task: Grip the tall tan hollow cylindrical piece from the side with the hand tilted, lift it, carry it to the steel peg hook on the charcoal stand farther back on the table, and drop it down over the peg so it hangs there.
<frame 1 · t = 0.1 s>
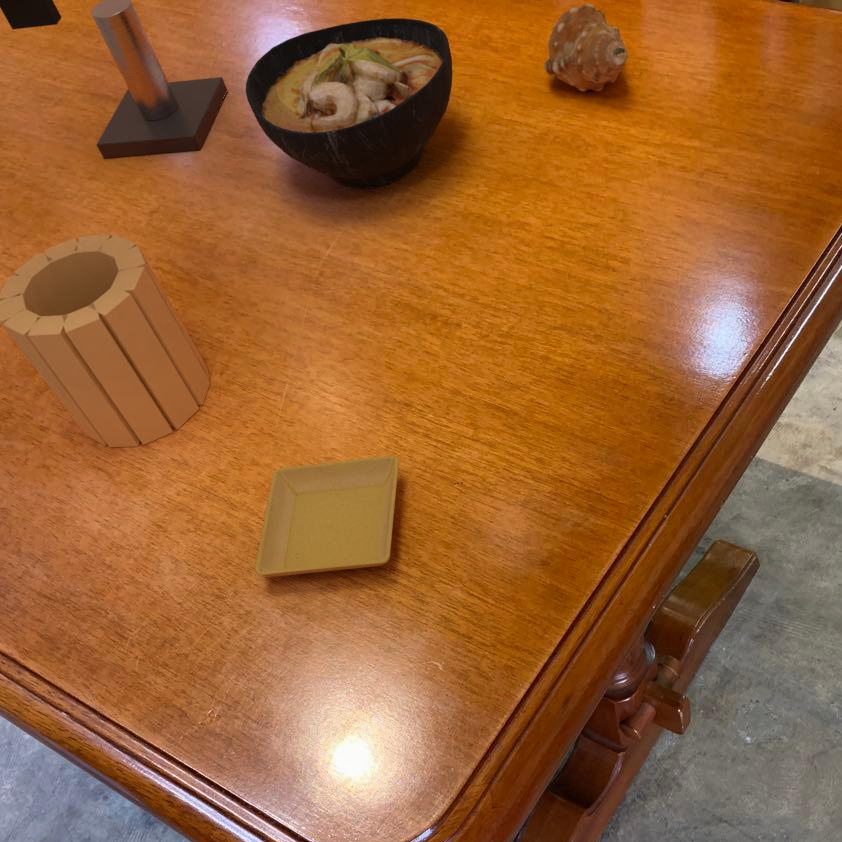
tan hollow cylindrical piece: (145, 396, 78), on the table
bowl: (376, 162, 92), on the table
saucer: (339, 533, 67), on the table
hook stand: (167, 124, 101), on the table
seashell: (595, 80, 94), on the table
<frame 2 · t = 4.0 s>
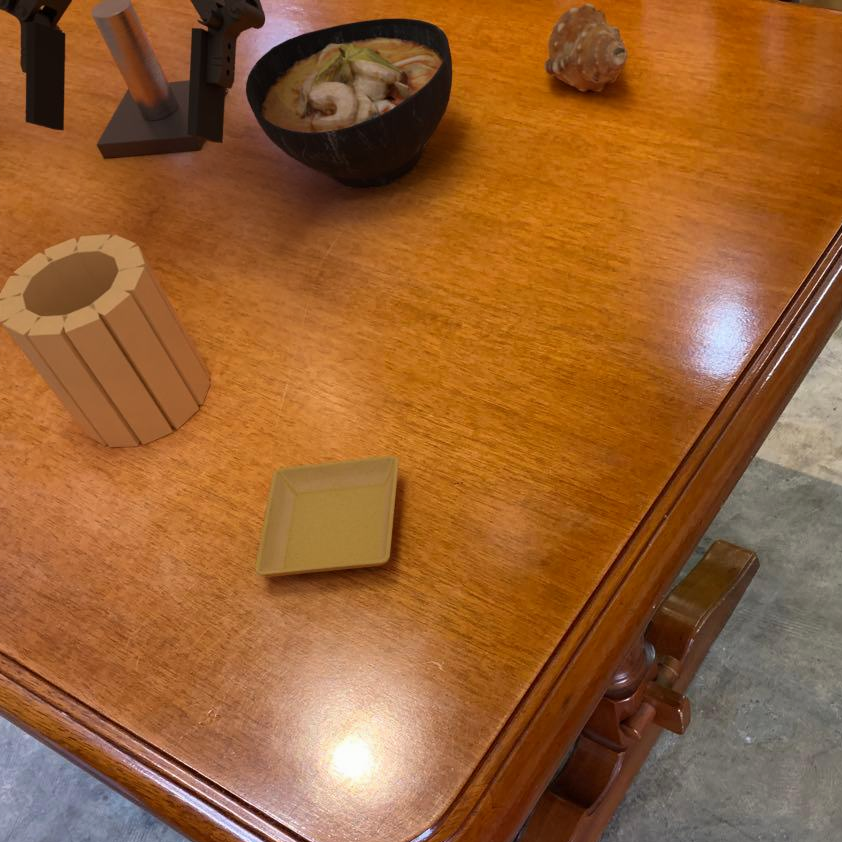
hand: (122, 133, 71), 15 cm above the table, tool tilted 45°, fingers open, 13 cm apart
nothing on the table moved.
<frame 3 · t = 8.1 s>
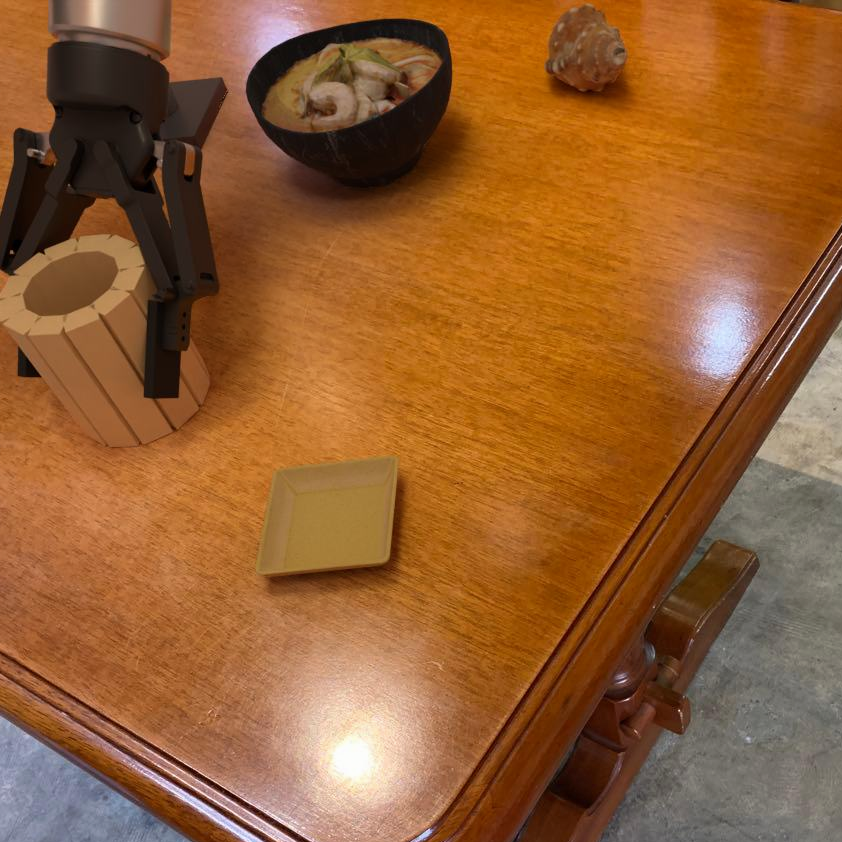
hand: (97, 387, 73), 4 cm above the table, tool tilted 45°, fingers closed on tan hollow cylindrical piece, 10 cm apart
tan hollow cylindrical piece: (145, 396, 78), on the table, touching gripper
everything else where it was.
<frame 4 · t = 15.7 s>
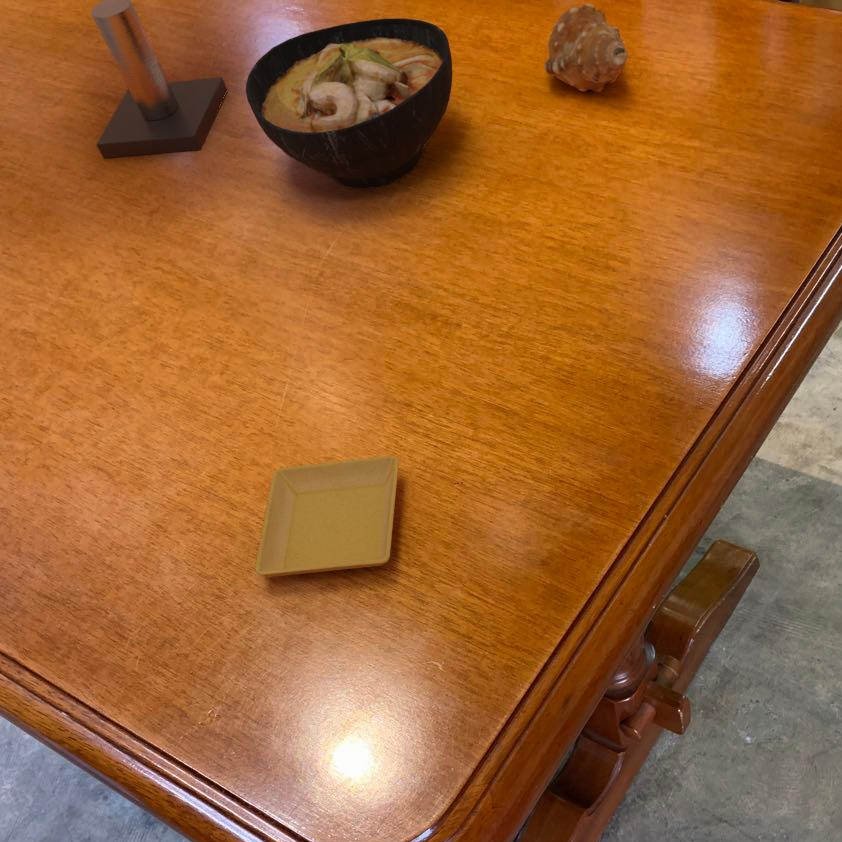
when the fingers open (6 cm above the table, at t = 23.5 s): tan hollow cylindrical piece stays where it is, resting on hook stand.
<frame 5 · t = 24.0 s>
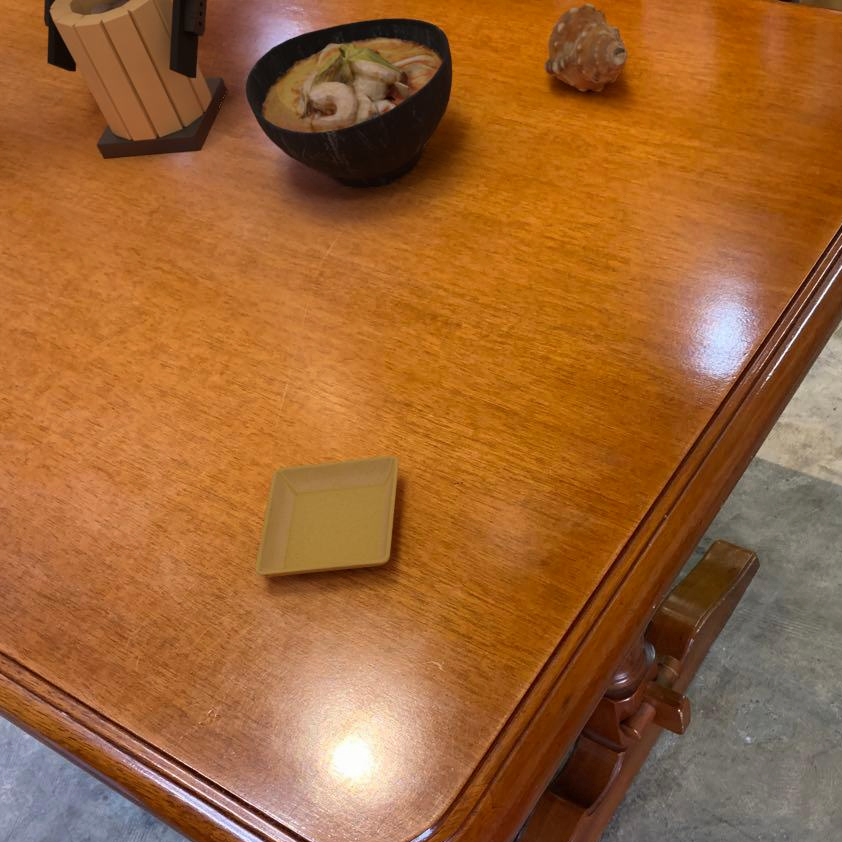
hand: (121, 71, 94), 7 cm above the table, tool tilted 45°, fingers open, 13 cm apart
tan hollow cylindrical piece: (160, 109, 99), point 1 cm above the table, touching hook stand
everything else where it was.
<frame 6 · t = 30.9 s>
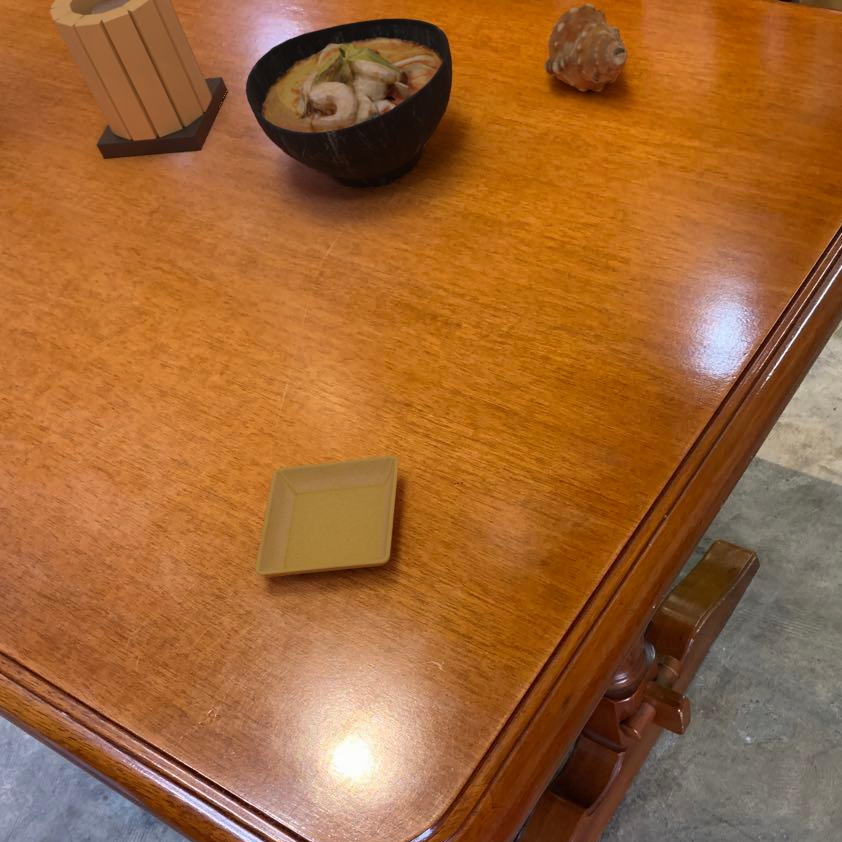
nothing on the table moved.
at the end: tan hollow cylindrical piece 0.0 cm off-centre on the hook stand, point 1.5 cm above the hook stand's base; tan hollow cylindrical piece tilted 0°; the gripper is holding nothing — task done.
